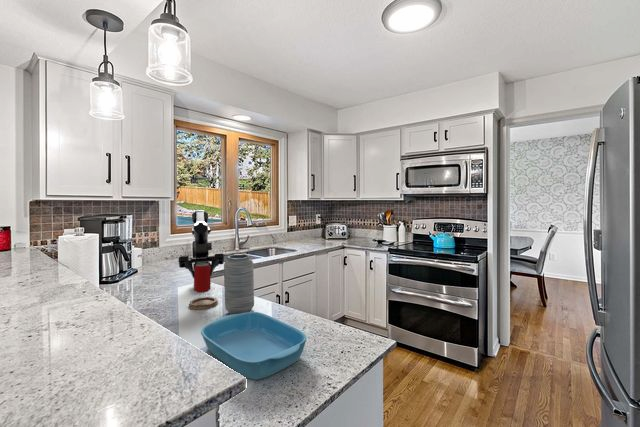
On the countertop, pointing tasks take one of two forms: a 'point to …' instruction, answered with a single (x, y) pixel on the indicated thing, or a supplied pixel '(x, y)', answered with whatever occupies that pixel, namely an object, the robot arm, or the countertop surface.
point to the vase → (239, 284)
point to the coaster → (203, 303)
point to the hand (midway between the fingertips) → (202, 276)
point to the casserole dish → (254, 343)
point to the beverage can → (202, 277)
